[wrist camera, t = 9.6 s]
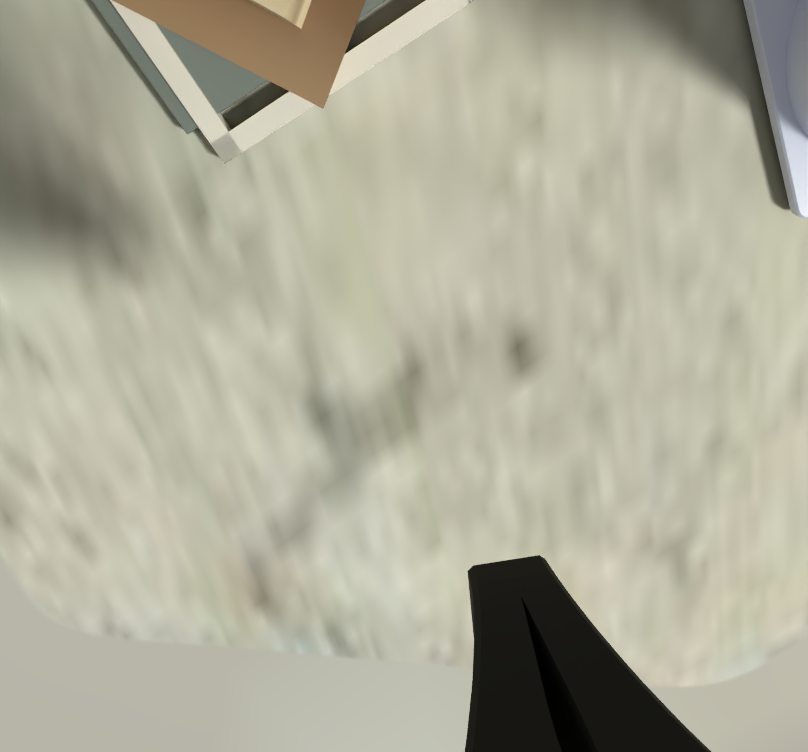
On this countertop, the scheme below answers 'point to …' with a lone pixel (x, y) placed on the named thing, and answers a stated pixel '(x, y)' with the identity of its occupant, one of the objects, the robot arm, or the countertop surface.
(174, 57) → the slate mat
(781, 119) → the robot arm
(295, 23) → the maple cube
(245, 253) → the countertop surface
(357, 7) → the walnut slab
